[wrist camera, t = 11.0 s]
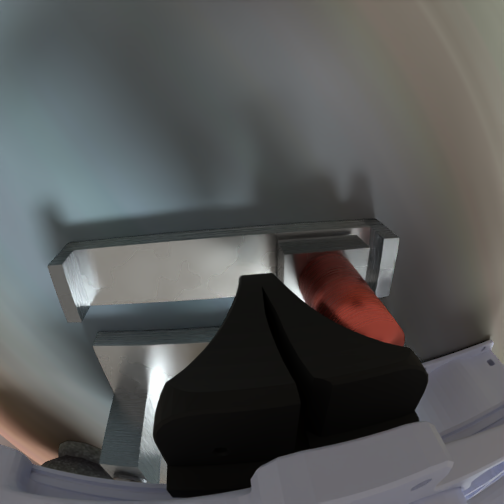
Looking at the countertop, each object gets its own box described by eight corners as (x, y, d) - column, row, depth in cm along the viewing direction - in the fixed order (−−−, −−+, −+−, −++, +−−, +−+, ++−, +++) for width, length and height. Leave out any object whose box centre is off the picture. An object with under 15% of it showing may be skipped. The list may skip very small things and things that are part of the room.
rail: (375, 219, 15) (399, 237, 13) (368, 271, 16) (388, 296, 14) (67, 242, 13) (47, 265, 11) (83, 295, 15) (67, 322, 13)
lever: (356, 234, 14) (428, 310, 8) (350, 284, 15) (407, 370, 9) (277, 240, 13) (318, 329, 8) (277, 292, 14) (310, 391, 9)
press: (293, 319, 17) (330, 424, 11) (285, 433, 22) (302, 508, 16) (97, 331, 16) (61, 432, 10) (149, 441, 21) (144, 515, 15)
